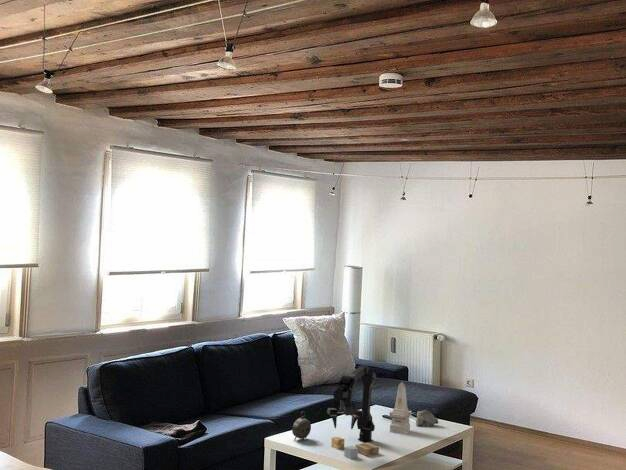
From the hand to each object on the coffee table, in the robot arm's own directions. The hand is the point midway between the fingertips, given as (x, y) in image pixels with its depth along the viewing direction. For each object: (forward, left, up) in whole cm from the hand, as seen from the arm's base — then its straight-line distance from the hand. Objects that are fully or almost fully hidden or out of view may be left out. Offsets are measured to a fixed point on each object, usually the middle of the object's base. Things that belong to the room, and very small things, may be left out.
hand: (343, 428), depth 360 cm
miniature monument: (-57, -15, -13) cm, 60 cm away
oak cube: (-4, -9, -13) cm, 16 cm away
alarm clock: (+6, -29, -13) cm, 32 cm away
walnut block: (-12, +6, -13) cm, 19 cm away
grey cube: (0, +7, -13) cm, 15 cm away
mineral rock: (-81, -16, -13) cm, 83 cm away
